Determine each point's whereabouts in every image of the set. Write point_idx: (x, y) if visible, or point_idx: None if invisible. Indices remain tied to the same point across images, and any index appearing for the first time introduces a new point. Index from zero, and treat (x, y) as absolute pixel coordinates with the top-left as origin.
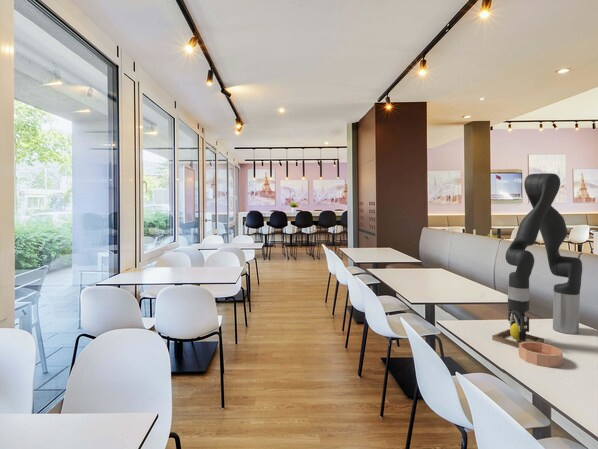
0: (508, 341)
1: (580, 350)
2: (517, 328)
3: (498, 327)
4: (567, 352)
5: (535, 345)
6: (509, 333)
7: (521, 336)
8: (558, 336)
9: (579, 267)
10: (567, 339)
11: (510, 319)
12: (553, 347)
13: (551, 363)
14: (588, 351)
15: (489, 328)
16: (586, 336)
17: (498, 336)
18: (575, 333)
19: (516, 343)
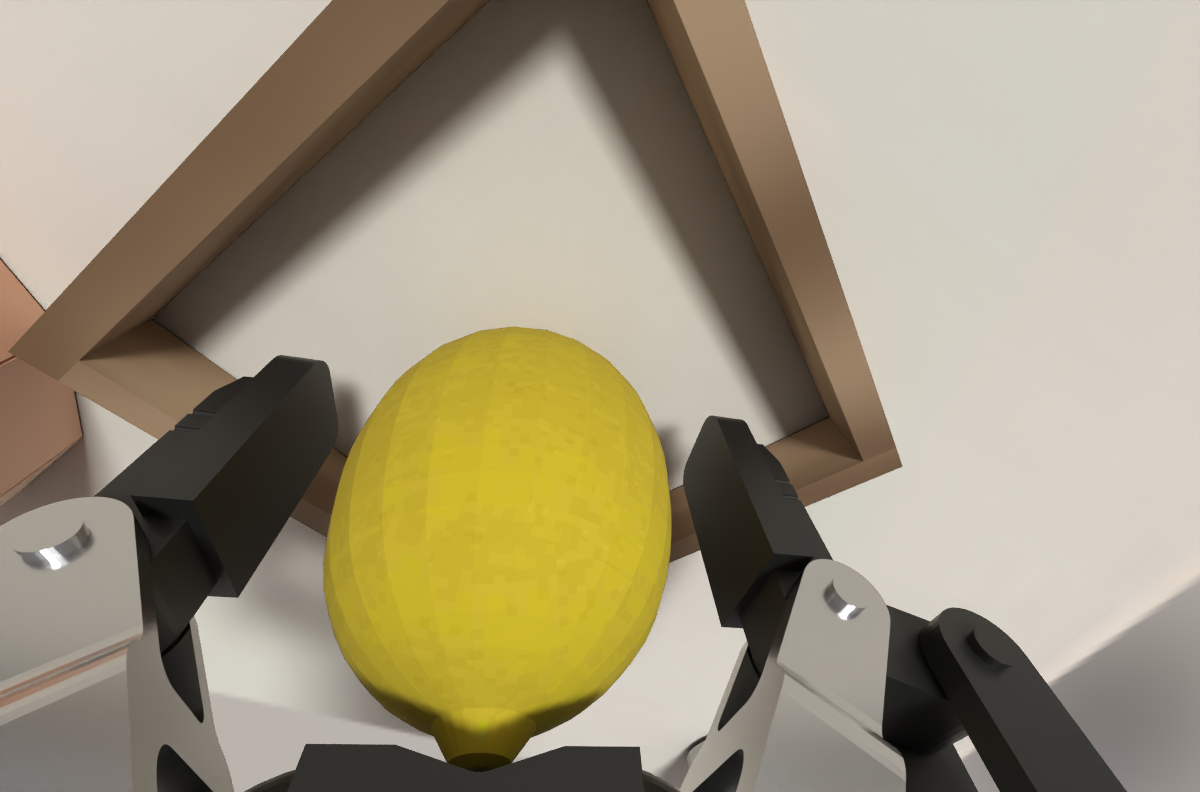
0: (263, 95)
1: (369, 694)
2: (331, 548)
3: (1104, 413)
4: (276, 629)
5: None
6: (832, 423)
7: (178, 424)
8: (662, 699)
9: None
10: (598, 711)
11: (805, 728)
12: None
13: None
14: (363, 714)
15: (1193, 250)
16: (644, 770)
17: (694, 83)
18: (687, 762)
19: (144, 213)
